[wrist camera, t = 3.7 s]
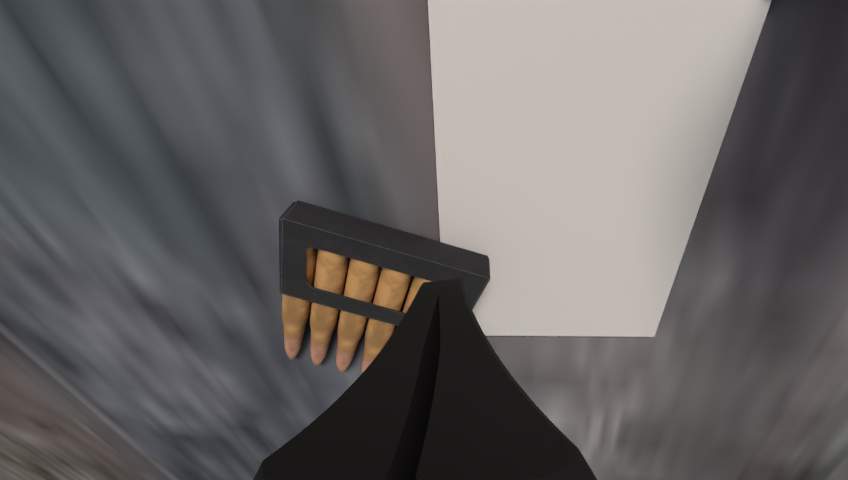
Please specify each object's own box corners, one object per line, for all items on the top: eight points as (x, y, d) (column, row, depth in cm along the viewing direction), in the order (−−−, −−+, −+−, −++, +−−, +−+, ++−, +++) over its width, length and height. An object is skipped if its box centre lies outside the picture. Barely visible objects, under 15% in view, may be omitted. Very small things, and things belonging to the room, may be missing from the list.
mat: (779, -39, 13) (785, -40, 13) (651, 333, 22) (654, 336, 22) (427, -8, 14) (427, -8, 14) (445, 331, 23) (445, 335, 23)
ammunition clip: (294, 199, 19) (284, 343, 26) (278, 217, 17) (272, 366, 24) (489, 256, 19) (429, 383, 26) (491, 278, 18) (426, 407, 25)
